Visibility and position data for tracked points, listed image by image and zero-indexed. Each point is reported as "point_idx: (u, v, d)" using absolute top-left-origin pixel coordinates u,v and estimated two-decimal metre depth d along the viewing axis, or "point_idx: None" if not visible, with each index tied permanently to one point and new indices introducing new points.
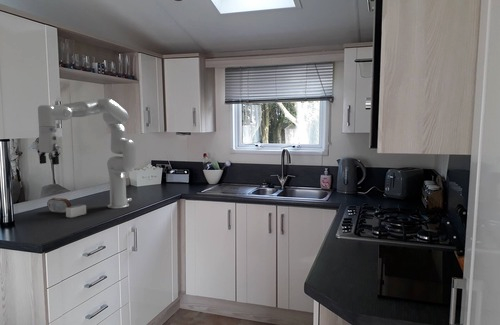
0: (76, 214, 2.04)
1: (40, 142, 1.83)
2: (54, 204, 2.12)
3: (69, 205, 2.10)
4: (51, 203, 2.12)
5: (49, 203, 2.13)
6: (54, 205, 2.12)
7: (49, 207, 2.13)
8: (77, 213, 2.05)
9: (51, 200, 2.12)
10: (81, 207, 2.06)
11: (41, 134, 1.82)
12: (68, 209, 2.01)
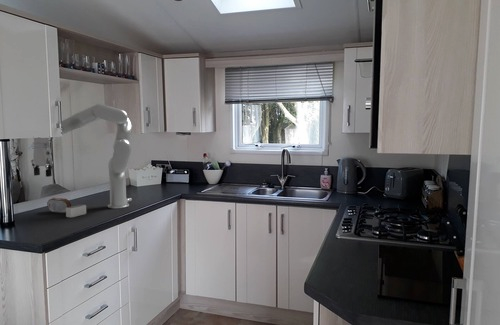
0: (76, 214, 2.04)
1: (35, 156, 2.06)
2: (54, 204, 2.11)
3: (69, 205, 2.10)
4: (51, 203, 2.12)
5: (49, 203, 2.13)
6: (54, 205, 2.12)
7: (49, 207, 2.13)
8: (77, 213, 2.05)
9: (51, 200, 2.12)
10: (81, 207, 2.06)
11: (36, 149, 2.05)
12: (68, 209, 2.01)
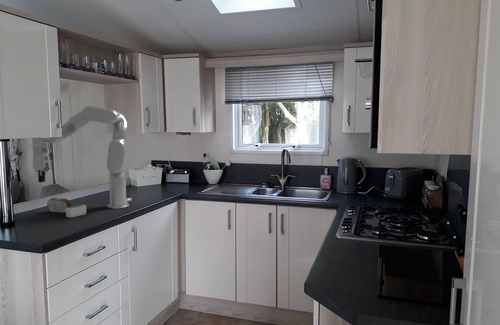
0: (76, 214, 2.04)
1: (34, 161, 2.15)
2: (54, 204, 2.11)
3: (69, 205, 2.10)
4: (51, 203, 2.12)
5: (49, 203, 2.12)
6: (54, 205, 2.12)
7: (49, 207, 2.13)
8: (77, 213, 2.05)
9: (51, 200, 2.12)
10: (81, 207, 2.06)
11: (35, 154, 2.14)
12: (68, 209, 2.01)
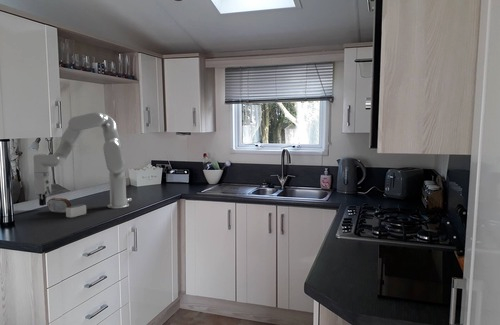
0: (76, 214, 2.04)
1: (35, 185, 2.16)
2: (54, 204, 2.11)
3: (69, 205, 2.10)
4: (51, 203, 2.12)
5: (49, 203, 2.12)
6: (54, 205, 2.12)
7: (49, 207, 2.13)
8: (77, 213, 2.05)
9: (51, 200, 2.12)
10: (81, 207, 2.06)
11: (36, 178, 2.15)
12: (68, 209, 2.01)
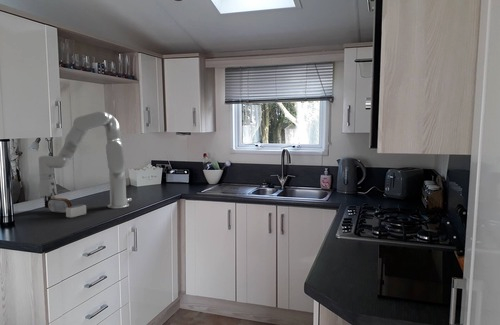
0: (76, 214, 2.04)
1: (40, 187, 2.14)
2: (55, 204, 2.11)
3: (70, 205, 2.10)
4: (51, 202, 2.12)
5: (49, 203, 2.12)
6: (55, 204, 2.11)
7: (49, 207, 2.13)
8: (77, 213, 2.05)
9: (51, 200, 2.11)
10: (81, 207, 2.06)
11: (41, 180, 2.13)
12: (68, 209, 2.01)
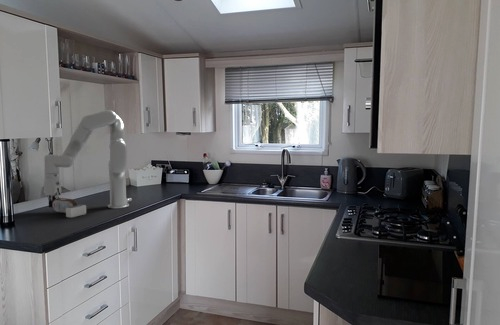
0: (76, 214, 2.04)
1: (45, 186, 2.11)
2: (59, 204, 2.09)
3: None
4: (56, 203, 2.09)
5: (54, 203, 2.09)
6: (60, 205, 2.09)
7: (54, 207, 2.10)
8: (77, 213, 2.05)
9: (56, 200, 2.08)
10: (81, 207, 2.06)
11: (46, 179, 2.10)
12: (68, 209, 2.01)
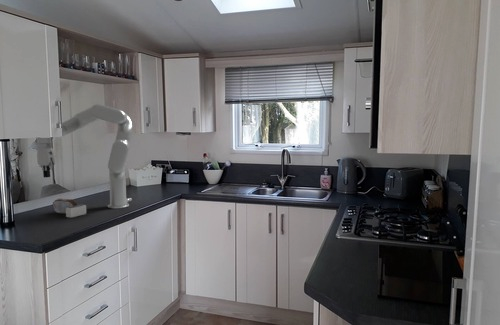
0: (76, 214, 2.04)
1: (38, 156, 2.13)
2: (60, 205, 2.09)
3: None
4: (57, 204, 2.10)
5: (54, 204, 2.10)
6: (60, 206, 2.09)
7: (54, 208, 2.10)
8: (77, 213, 2.05)
9: (57, 201, 2.09)
10: (81, 207, 2.06)
11: (39, 150, 2.12)
12: (68, 209, 2.01)
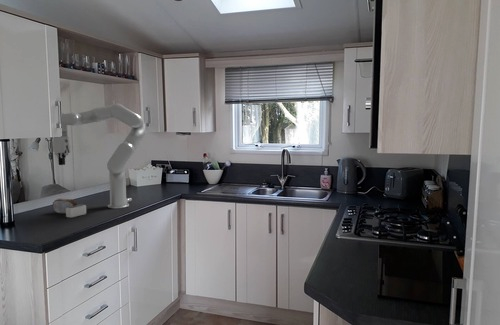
0: (76, 214, 2.04)
1: (54, 144, 2.16)
2: (60, 205, 2.09)
3: None
4: (57, 203, 2.10)
5: (54, 204, 2.10)
6: (60, 205, 2.09)
7: (54, 208, 2.10)
8: (77, 213, 2.05)
9: (57, 201, 2.09)
10: (81, 207, 2.06)
11: (55, 137, 2.15)
12: (68, 209, 2.01)
